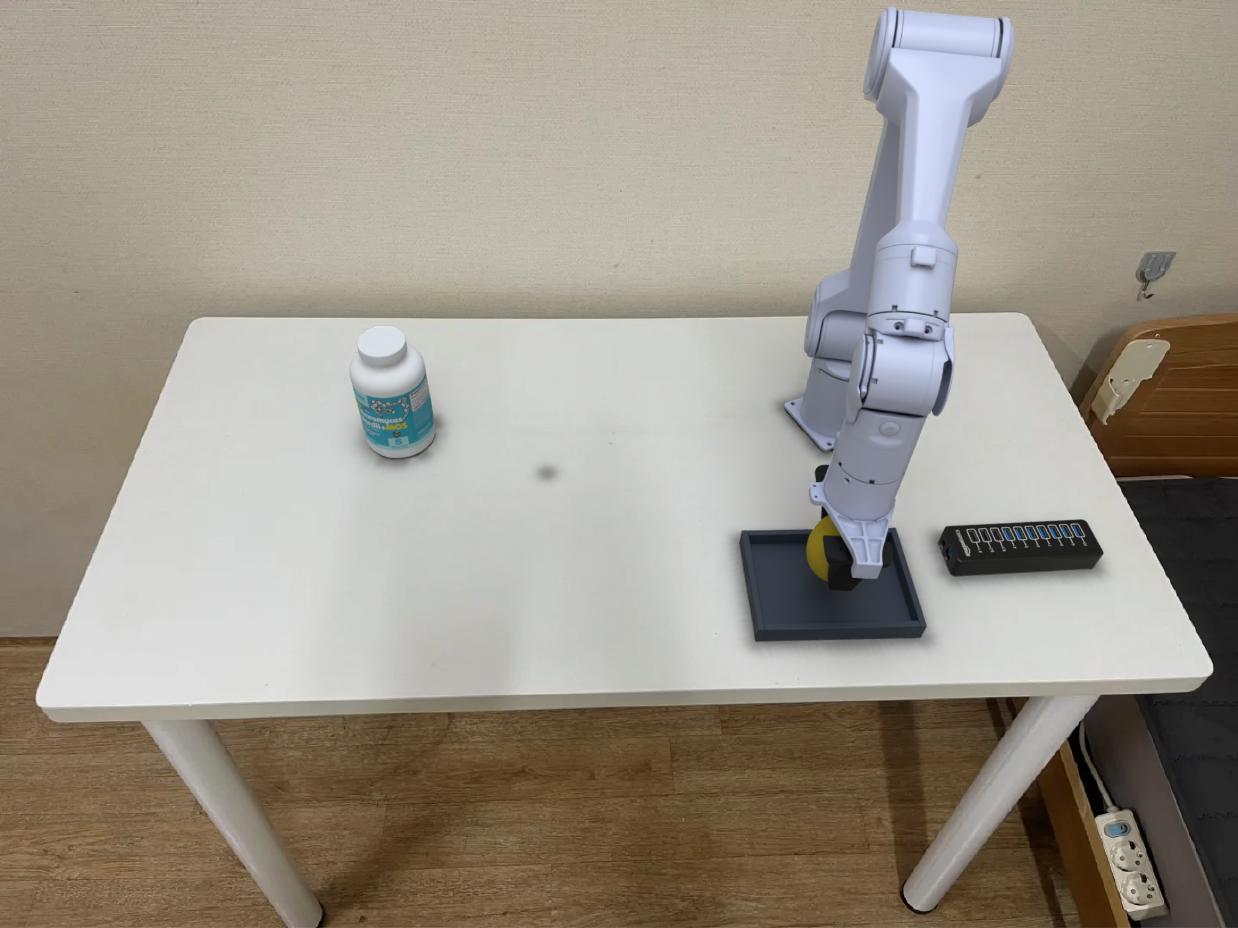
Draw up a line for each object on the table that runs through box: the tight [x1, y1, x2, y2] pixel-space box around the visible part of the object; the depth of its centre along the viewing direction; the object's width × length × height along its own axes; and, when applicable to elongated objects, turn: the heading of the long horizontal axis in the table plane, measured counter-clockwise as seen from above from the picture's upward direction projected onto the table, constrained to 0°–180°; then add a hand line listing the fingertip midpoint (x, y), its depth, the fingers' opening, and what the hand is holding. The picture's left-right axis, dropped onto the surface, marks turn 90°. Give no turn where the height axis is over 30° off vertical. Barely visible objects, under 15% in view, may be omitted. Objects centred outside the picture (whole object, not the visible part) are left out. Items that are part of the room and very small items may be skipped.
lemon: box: [806, 515, 841, 582], centre depth 79 cm, size 6×6×8 cm
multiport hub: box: [937, 518, 1105, 577], centre depth 86 cm, size 4×14×2 cm, turn 95°
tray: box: [738, 527, 928, 643], centre depth 83 cm, size 15×11×2 cm
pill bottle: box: [348, 325, 436, 459], centre depth 91 cm, size 8×7×14 cm
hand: (836, 559), depth 81 cm, fingers closed on lemon, 5 cm apart
